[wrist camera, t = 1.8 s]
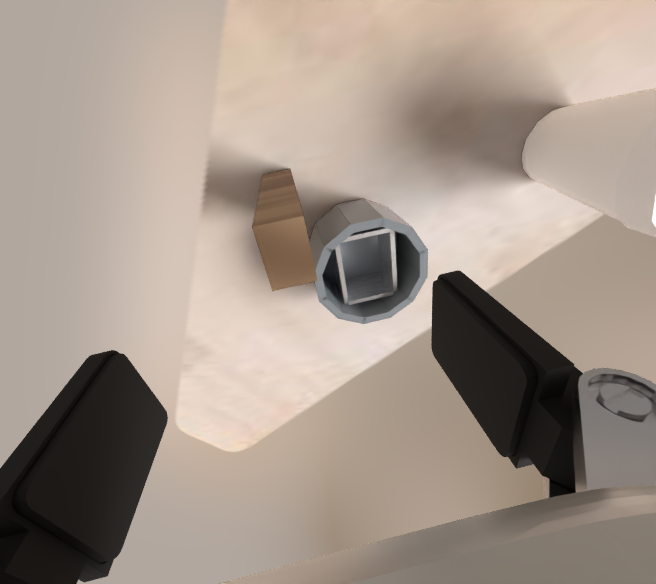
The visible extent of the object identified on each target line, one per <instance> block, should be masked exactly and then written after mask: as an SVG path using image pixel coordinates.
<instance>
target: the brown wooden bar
mask: <svg viewBox="0 0 656 584" xmlns="http://www.w3.org/2000/svg"><path fill="white" fill-rule="evenodd" d="M252 228H253V231H254V234H255V238H256V241H257V244H258V247H259V250H260V253H261V256H262V259H263V263H264V266H265V269H266V272H267V275H268V278H269V281H270V284H271V287H272V291H275V290H279V289H283V288H288V287H292V286H297V285H301V284H306V283H310V282H314V281H318V280H317V275H316V271H315V266H314V261H313V257H312V252H311V248H310V243H309V238H308V234H307V229H306V225H305V220H304V216H303V212H302V209H301V205H300V201H299V198H298V194H297V191H296V187H295V184H294V180H293V176H292V173H291V169H287V170H282V171H277V172H272V173H268V174H263V177H262V182H261V187H260V191H259V196H258V201H257V206H256V211H255V215H254V220H253V225H252Z"/></svg>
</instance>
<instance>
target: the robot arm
mask: <svg viewBox="0 0 656 584" xmlns="http://www.w3.org/2000/svg"><path fill="white" fill-rule="evenodd" d="M432 352H433V354H434V356H435V358H436V360H437V361H438V363H439V364H440V366H441V367H442V369H443V370H444V372H445V373H446V375H447V376H448V378H449V379H450V381H451V382H452V383H453V385H454V387H455V388H456V390H457V391H458V392H459V394H460V395H461V397H462V399H463V400H464V402H465V403H466V405H467V406H468V408H469V409H470V410H471V412H472V414H473V415H474V417H475V418H476V419H477V421H478V423H479V424H480V426H481V427H482V428H483V430H484V431H485V433H486V434H487V436H488V437H489V439H490V441H491V442H492V444H493V445H494V446H495V448H496V449H497V451H498V452H499V453H500V454H501V455H502V456H503V457H509V459H510V460H511V462H512V463H513V465H514V466H515V467H516V468H521V467H524V466H528V465H532V464H534V465H535V466H536V468H537V469H538V470H539V472H540V473H541V475H542V476H544V499H543V500H539V501H535V502H530V503H526V504H522V505H518V506H514V507H510V508H506V509H502V510H497V511H493V512H489V513H485V514H481V515H477V516H473V517H469V518H465V519H461V520H457V521H454V522H450V523H446V524H443V525H438V526H435V527H431V528H427V529H423V530H420V531H416V532H412V533H408V534H404V535H400V536H397V537H393V538H389V539H385V540H382V541H377V542H374V543H370V544H366V545H362V546H358V547H355V548H351V549H348V550H343V551H340V552H336V553H332V554H328V555H325V556H321V557H317V558H313V559H310V560H306V561H302V562H299V563H295V564H291V565H288V566H284V567H280V568H276V569H273V570H269V571H265V572H262V573H257V574H254V575H250V576H246V577H243V578H239V579H235V580H232V581H228V582H224V583H220V584H656V384H654V383H652V382H651V381H649V380H647V379H645V378H642V377H640V376H638V375H636V374H632V373H629V372H625V371H622V370H616V369H609V368H598V369H592V370H589V371H586V372H584V373H582V372H581V371H579V370H578V369H577V368H575V367H574V364H573V363H572V362H571V361H570V360H568V359H567V358H566V357H564V356H563V355H562V354H561V353H560V352H558V351H557V350H556V349H555V348H554V347H552V346H551V345H550V344H549V343H548V342H546V341H545V340H544V339H543V338H541V337H540V336H539V335H538V334H537V333H535V332H534V331H533V330H532V329H531V328H529V327H528V326H527V325H526V324H524V323H523V322H522V321H520V319H518V318H517V317H516V316H515V315H513V314H512V313H511V312H510V311H508V310H507V309H506V308H505V307H504V306H503V305H501V304H500V303H499V302H498V301H496V300H495V299H494V298H493V297H491V296H490V295H489V294H488V293H487V292H485V291H484V290H483V289H482V288H481V287H479V286H478V285H477V284H476V283H474V282H473V281H472V280H471V279H470V278H468V277H467V276H466V275H465V274H464V273H462V272H461V271H454V272H449V273H445V274H441V275H439V276H438V280H436V281H434V282H433V297H432ZM167 418H168V417H167V412H166V410H165V409H164V407H163V406H162V405H161V403H160V402H159V400H158V399H157V398H156V396H155V395H154V394H153V392H152V391H151V390H150V388H149V387H148V385H147V384H146V383H145V381H144V380H143V379H142V377H141V376H140V374H139V373H138V372H137V370H136V369H135V368H134V366H133V365H132V363H131V362H130V361H129V360H128V358H127V357H126V356H125V355H124V354H120V353H118V352H117V351H113V350H111V351H107V352H103V353H99V354H94V355H91V356H89V357H88V358H87V359H86V360H85V362H84V363H83V364H82V365H81V367H80V368H79V369H78V371H77V372H76V373H75V374H74V376H73V377H72V378H71V379H70V381H69V382H68V383H67V385H66V386H65V387H64V388H63V390H62V391H61V392H60V393H59V395H58V396H57V397H56V398H55V400H54V401H53V402H52V404H51V405H50V406H49V408H48V409H47V410H46V411H45V413H44V414H43V415H42V416H41V418H40V419H39V420H38V421H37V423H36V424H35V425H34V426H33V428H32V429H31V430H30V431H29V433H28V434H27V435H26V437H25V438H24V439H23V440H22V442H21V443H20V444H19V445H18V447H17V448H16V449H15V450H14V452H13V453H12V454H11V456H10V457H9V458H8V459H7V461H6V462H5V463H4V465H3V466H2V467H1V468H0V584H76V583H77V581H78V579H79V580H81V581H83V582H87V581H91V580H95V579H99V578H102V577H106V576H108V573H109V571H110V568H111V565H112V563H113V560H114V559H115V558H116V557H117V556H118V555H119V553H120V552H121V549H122V547H123V544H124V542H125V539H126V536H127V533H128V530H129V528H130V524H131V522H132V519H133V516H134V513H135V511H136V508H137V505H138V502H139V499H140V497H141V494H142V491H143V488H144V486H145V483H146V480H147V477H148V474H149V472H150V469H151V466H152V463H153V460H154V458H155V455H156V452H157V449H158V446H159V444H160V441H161V438H162V435H163V432H164V429H165V427H166V424H167Z"/></svg>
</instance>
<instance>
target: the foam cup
mask: <svg viewBox="0 0 656 584" xmlns="http://www.w3.org/2000/svg"><path fill="white" fill-rule="evenodd" d="M522 162H523V170H524V171H525V172H526V173H527V174H528V176H529V177H530V178H531V179H534V180H535V181H537V182H539V183H541V184H543V185H545V186H547V187H549V188H552V189H554V190H556V191H558V192H560V193H562V194H564V195H566V196H568V197H571V198H573V199H575V200H577V201H579V202H581V203H583V204H585V205H587V206H589V207H592V208H594V209H596V210H598V211H600V212H602V213H604V214H606V215H609V216H610V217H613V218H615V219H617V220H619V221H621V222H622V223H623V224H624V226H625V227H626V228H629V229H632V230H636V231H638V232H642V233H645V234H648V235H651V236H654V237H656V88H654V89H649V90H644V91H639V92H634V93H629V94H624V95H619V96H614V97H609V98H604V99H599V100H594V101H589V102H584V103H579V104H574V105H571V106H566V107H562V108H559V109H555V110H552V111H551V112H550V113H548V114H547V115H546V116H545V117H543V118H542V119H541V120H540V121H538V122H537V124H536V125H535V127H534V128H533V130H532V131H531V133H530V134H529V136H528V137H527V139H526V142H525V146H524V149H523V153H522Z"/></svg>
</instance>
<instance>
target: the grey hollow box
mask: <svg viewBox="0 0 656 584" xmlns="http://www.w3.org/2000/svg"><path fill="white" fill-rule="evenodd" d="M375 235H378V245H379V257H380V269H381V272H380V273H375V274H371V275H367V276H362V277H358V278H353V279H349V280H345V276H344V270H343V264H342V257H341V251H340V245H339V246H337V247H336V248H335V249H334V250H333V251H332V257H333V262H334V268H335V274H336V279H337V284H338V287H339V290H340V293H341V295H342V298H343V301H344V304H348V303H349V305H352V304H356V303H360V302H365V301H369V300H373V299H378V298H382V297H386V296H391V295H394V293H396V292H398V289H397V269H396V249H395V231H393V230H390V229H387V228H384V227H378V228H373V229H369V230H364V231H360V232H355V233H353V234H352V235H351V236H349V237H348V238H347V239H346V240H345V241H343V242H347V241H352V240H356V239H361V238H366V237H370V236H375ZM343 242H342V243H343Z"/></svg>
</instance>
